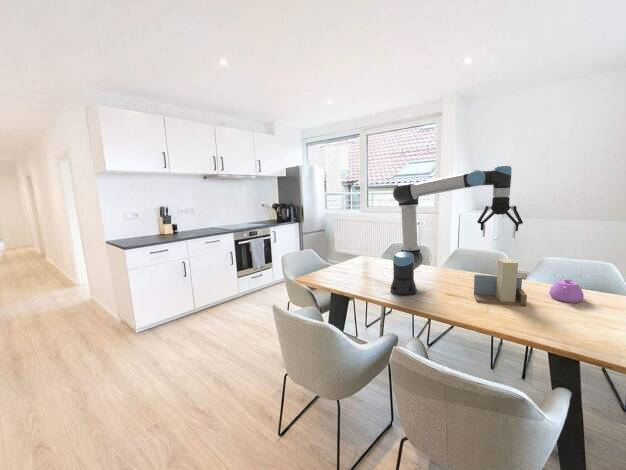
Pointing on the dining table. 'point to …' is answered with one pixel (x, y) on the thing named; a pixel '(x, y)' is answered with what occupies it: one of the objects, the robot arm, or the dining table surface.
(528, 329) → the dining table surface
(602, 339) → the dining table surface
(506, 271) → the toy refrigerator
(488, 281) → the cleat board
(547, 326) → the dining table surface
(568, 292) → the purple dimpled dome
